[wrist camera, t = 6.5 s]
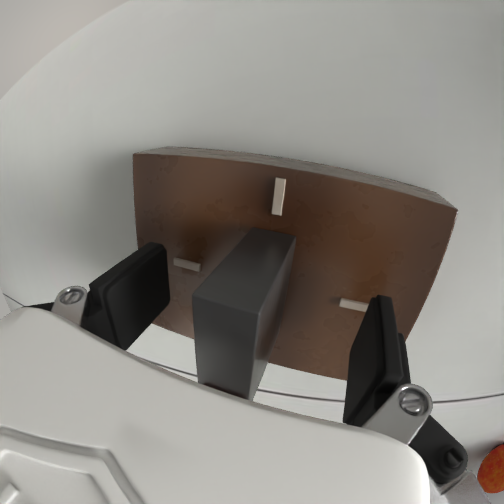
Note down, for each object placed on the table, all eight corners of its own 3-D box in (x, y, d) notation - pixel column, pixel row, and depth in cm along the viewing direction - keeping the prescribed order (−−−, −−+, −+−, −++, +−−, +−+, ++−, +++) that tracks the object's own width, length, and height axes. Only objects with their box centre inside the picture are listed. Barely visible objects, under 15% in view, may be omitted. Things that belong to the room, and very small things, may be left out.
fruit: (465, 498, 14) (494, 501, 8) (471, 453, 18) (501, 446, 13) (504, 483, 12) (536, 480, 6) (508, 440, 16) (540, 429, 11)
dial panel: (172, 297, 18) (146, 323, 16) (167, 146, 14) (129, 153, 11) (377, 350, 15) (378, 388, 12) (436, 192, 11) (461, 211, 8)
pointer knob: (252, 226, 11) (185, 299, 7) (297, 235, 11) (257, 319, 6) (243, 322, 13) (196, 406, 9) (279, 332, 13) (243, 422, 8)
